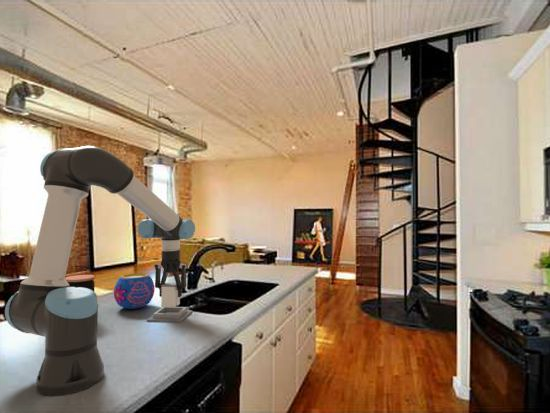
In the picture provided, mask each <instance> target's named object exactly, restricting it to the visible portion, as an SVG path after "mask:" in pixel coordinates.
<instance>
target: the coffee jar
mask: <svg viewBox="0 0 550 413" xmlns="http://www.w3.org/2000/svg"><path fill="white" fill-rule="evenodd" d="M94 279H95V275H94V274H78V275H70V276H67V277H66V276H65V280H66V281H67V282H68V284H69V287H75V288H78V287H82V288H87V289H90V290H93V291H94V292H95V281H94Z"/></svg>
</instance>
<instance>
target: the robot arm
mask: <svg viewBox="0 0 550 413" xmlns="http://www.w3.org/2000/svg"><path fill="white" fill-rule="evenodd" d="M39 170H40V175H41V176H42V178H43V181H44V185H43V189H44V190H45V191H46V192H47V199H46V204H45V208H44V212H43V215H42V216H43V217H42V220H41V224H40V227H39V228H40V230H39V232H38V233H39V234H38V237H37V241H36V246H35V248H34V249H35V250H34V254H33V257H32V258H33V259H32V262H31V267H30V269H29V270H30V272H29V273H28V274H29V275H28V277H26V278H25V279H23V280H22V281H21V282H20V285H19V288H18V291H16V292H15V293H14V294H13V295H11V297H9V299H8V301H7V303H6V305H5V308H4V316H5V320H6V322H7V323H8V325H10V326H11V328H12V329H16V330H17V331H18V332H21V333H25V334H32V335H35V336H38V337H39V336H40V337H44V339H45V341H44V349H45V350H44V358H43V360H42V363H41V365H40V368H39V371H38V374H37V377H36V380H35V390H36V392H37V393H39V394H40V395H44V396H52V397H53V396H64V395H68V394H73V393H77V392H80V391H83V390H85V389H88V388H90V387H92V386H93V385H95V384H97V383H98V382H99V381H100V380H102V379H103V377H104V375H105V366H104V362H103V359H102V357H101V354H100V351H99V349H98V316H99V315H98V314H99V302H98V296H97V293H96V292H95V290H94V291H93V290H90V289H87V288H82V287H78V288H75V287H69V284H68V282H67V281H66V280H65V278H66V274H67V268H68V265H69V260H70V256H71V251H72V245H73V241H74V237H75V232H76V227H77V222H78V218H79V213H80V209H81V205H82V204H81V203H82V200H83V199H85V198H87V197H88V196H89V193H90V189H91V186H95V187H99V188H102V189H104V190H106V191H107V192H109V193H110V194H113V195H116V194H117V195H118V196H119V197H120V198H122V199H124V200H125V201H126V202H127V203H128V204H130V205H131V206H133V208H135V209H136V210H138V211H139V213H141V214H142V215H144V216H146V218H147V219H141V220H140V222H139V223H138V225H137V233H138V235H139V236H140V238H142V239H149V240H150V239H161V261H160V263H155V265H154V269H155V277H154V278H155V280H154V288H157V289H159V297H160V298H161V296H162V287H161V285H163V284H165V283H167V279H168V275H169V273H172V275H173V277H174V280H175V283H176V285H177V290H176V306H175V307H179V305H180V304H181V300H180V299H181V298H182V295H183V294H182V293H183V290H184V289H185V288H186V287H187V267H188V264H186V263H185V264H184V263H182V262H181V251H180V250H181V240H189V239H191V238H193V237H194V236H195V233H196V224H195V223H194V221H193V220H191V219H189V218H182V217H181V216H180V214H179V213H176V212H175V211H174V210H173V209H172V208H171V207H170V206H168V205H167V204H166V203H165V202H164V201H163V200H162V199H161V198H159V196H157V195H156V194H155V193H154V192H153V191H152V190H150V188H148V187H147V186H146V185H145V184H144V183H143V182H142V181H141V180H140V179H138V178H137V177H136V176H135V171H134V170H133V169H132V168H131V167H130V166H129V165H127V164H126V163H125V162H124V161H123V160H121V159H120V158H118V157H117V156H116V155H114V154H113V153H111V152H109V151H107V150H106V149H103V148H101V147H98V146H93V145H85V146H80V147H79V146H78V147H71V148H68V147H64V148H58V149H57V150H53V151H51V152H49V153H48V154H46V155H45V156H44V157H43V159H42V160H41V162H40V167H39ZM162 268H163V270H162ZM179 268H180V270H181V271H180V272H179ZM161 270H162V271H161ZM179 273H180V274H179ZM161 274H162V275H161Z"/></svg>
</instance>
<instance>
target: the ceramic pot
mask: <svg viewBox="0 0 550 413" xmlns="http://www.w3.org/2000/svg"><path fill="white" fill-rule="evenodd" d="M154 294H155V282H154V280H153V278H152V277H151V276H150V275H149V274H147V273H137V272H136V273H135V272H134V273H127V274H123V275H121V276H120V277H119V278H118V279H117V281H116V282H115V286H114V289H113V297H114V301H115V302H116V304H117V305H118V306H120V307H121V308H123V309H126V310H136V309H140V308H143V307H145V306H146V305H148V304H149V303H151V301H152V299H153V298H154Z"/></svg>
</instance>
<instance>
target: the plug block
mask: <svg viewBox="0 0 550 413" xmlns="http://www.w3.org/2000/svg"><path fill="white" fill-rule="evenodd" d="M161 287H162V296H161V297H160V298H161V308H162V307H177V306H176V290H177V285H176V282H165V284H163V285H161Z"/></svg>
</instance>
